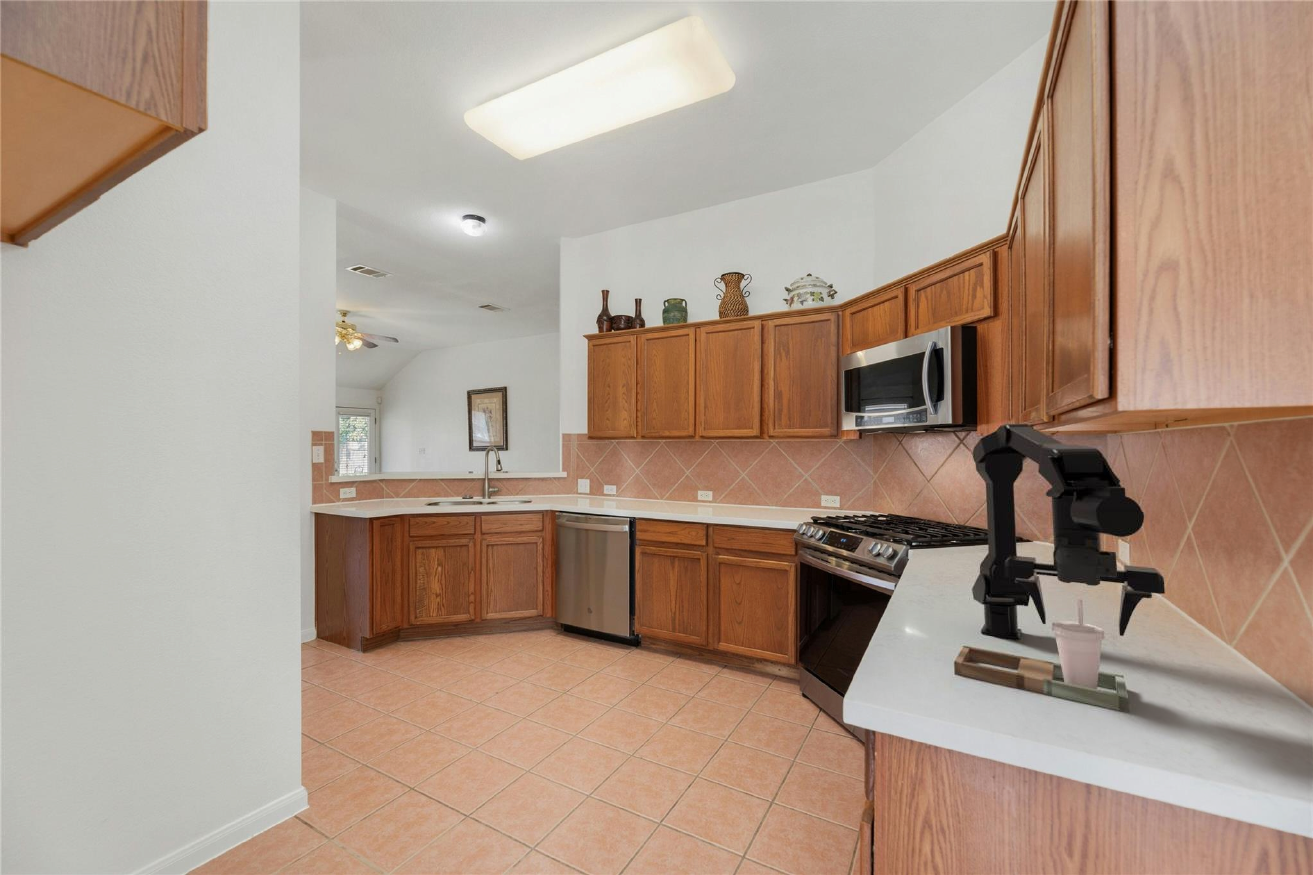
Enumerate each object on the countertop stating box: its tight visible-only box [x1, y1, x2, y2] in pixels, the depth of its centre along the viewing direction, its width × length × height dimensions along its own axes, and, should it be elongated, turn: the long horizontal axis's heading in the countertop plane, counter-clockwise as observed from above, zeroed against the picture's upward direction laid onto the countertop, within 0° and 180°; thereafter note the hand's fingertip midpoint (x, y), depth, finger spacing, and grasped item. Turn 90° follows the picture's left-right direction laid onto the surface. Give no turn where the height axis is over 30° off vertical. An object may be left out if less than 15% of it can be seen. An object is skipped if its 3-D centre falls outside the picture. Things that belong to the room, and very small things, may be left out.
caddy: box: [953, 645, 1130, 713], centre depth 83 cm, size 10×22×2 cm, turn 51°
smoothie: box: [1051, 598, 1106, 689], centre depth 80 cm, size 6×6×14 cm
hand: (1081, 629), depth 79 cm, fingers open, 9 cm apart
